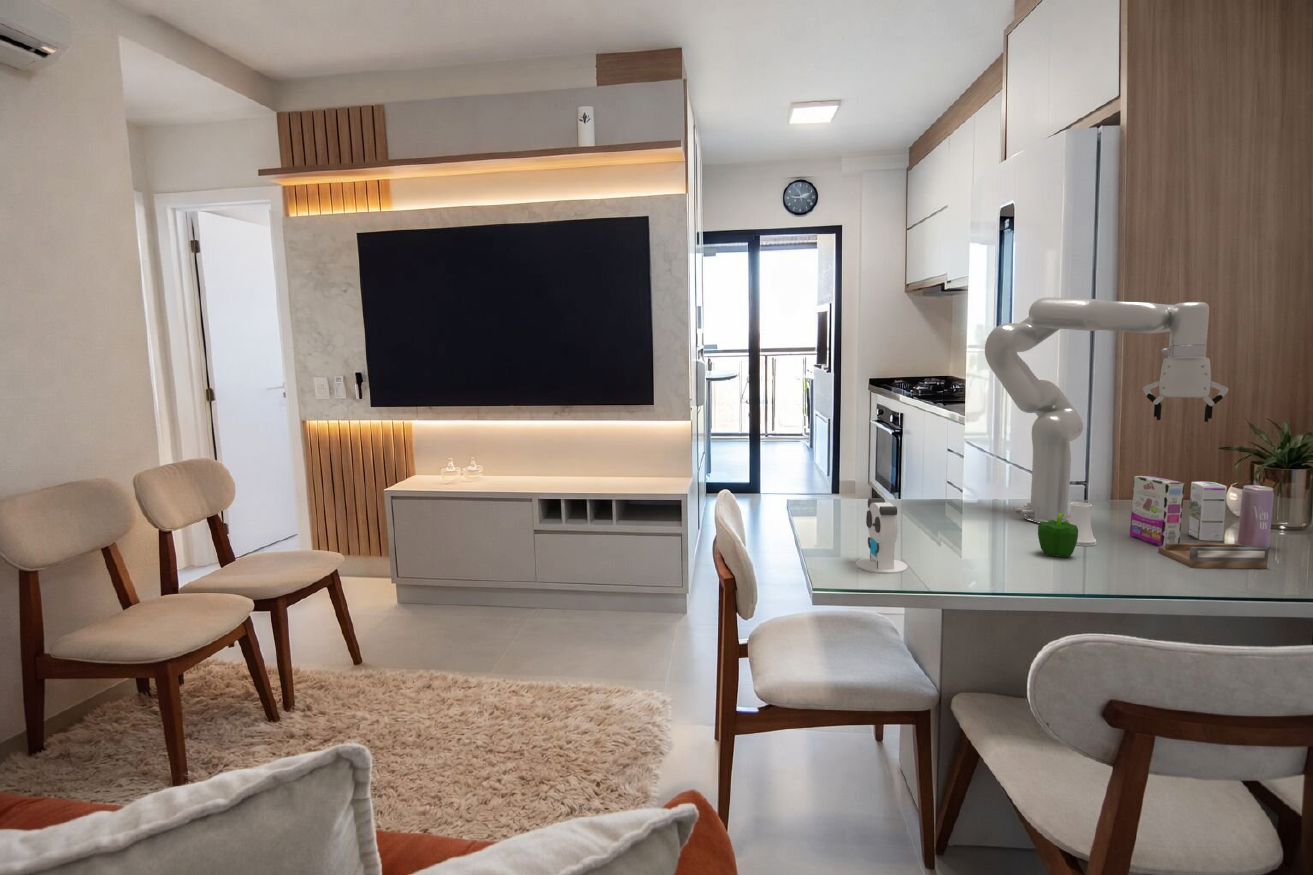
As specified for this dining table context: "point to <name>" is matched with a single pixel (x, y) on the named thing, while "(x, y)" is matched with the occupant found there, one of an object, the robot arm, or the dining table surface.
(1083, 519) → the vase
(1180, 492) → the candy bar box
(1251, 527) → the beverage can
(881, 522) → the panda figurine
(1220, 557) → the wooden tray
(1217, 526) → the syrup box
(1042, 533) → the bell pepper
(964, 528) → the dining table surface
